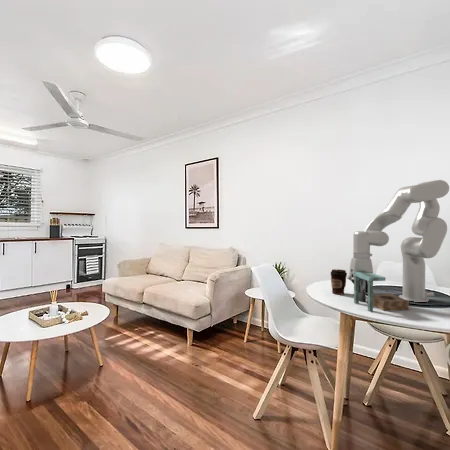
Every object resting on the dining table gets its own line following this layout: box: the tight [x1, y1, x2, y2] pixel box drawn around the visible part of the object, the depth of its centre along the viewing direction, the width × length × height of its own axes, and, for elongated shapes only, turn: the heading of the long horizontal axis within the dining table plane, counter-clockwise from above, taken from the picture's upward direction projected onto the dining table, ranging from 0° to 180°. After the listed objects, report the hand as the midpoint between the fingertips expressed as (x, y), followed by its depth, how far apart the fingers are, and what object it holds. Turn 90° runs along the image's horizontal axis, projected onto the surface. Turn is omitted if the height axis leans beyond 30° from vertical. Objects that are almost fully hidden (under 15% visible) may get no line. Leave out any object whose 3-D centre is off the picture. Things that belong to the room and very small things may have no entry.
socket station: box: [353, 272, 410, 312], centre depth 133 cm, size 19×13×15 cm
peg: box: [359, 279, 367, 303], centre depth 143 cm, size 4×4×12 cm
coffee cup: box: [330, 268, 348, 296], centre depth 157 cm, size 9×8×13 cm
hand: (361, 292), depth 143 cm, fingers closed on peg, 4 cm apart
